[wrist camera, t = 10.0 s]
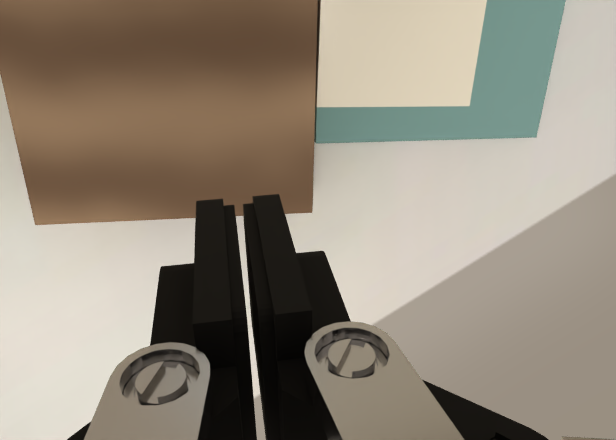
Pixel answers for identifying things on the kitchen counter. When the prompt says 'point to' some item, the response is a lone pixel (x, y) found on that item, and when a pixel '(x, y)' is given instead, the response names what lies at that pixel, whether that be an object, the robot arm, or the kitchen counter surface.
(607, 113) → the kitchen counter surface
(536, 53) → the mat
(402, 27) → the tile
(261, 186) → the board
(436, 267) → the kitchen counter surface
